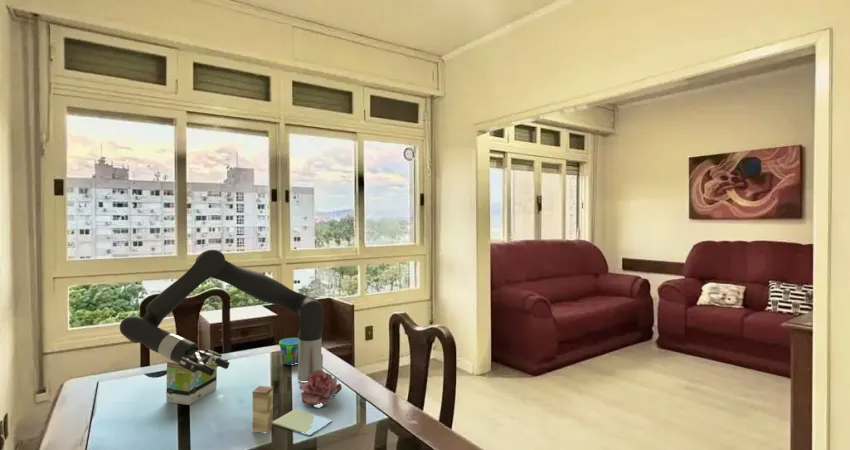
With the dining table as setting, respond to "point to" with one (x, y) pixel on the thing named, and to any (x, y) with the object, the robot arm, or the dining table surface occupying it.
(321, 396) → the flower
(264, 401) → the beech block
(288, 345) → the snack cup
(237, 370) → the dining table surface
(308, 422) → the felt mat
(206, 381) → the tea box
